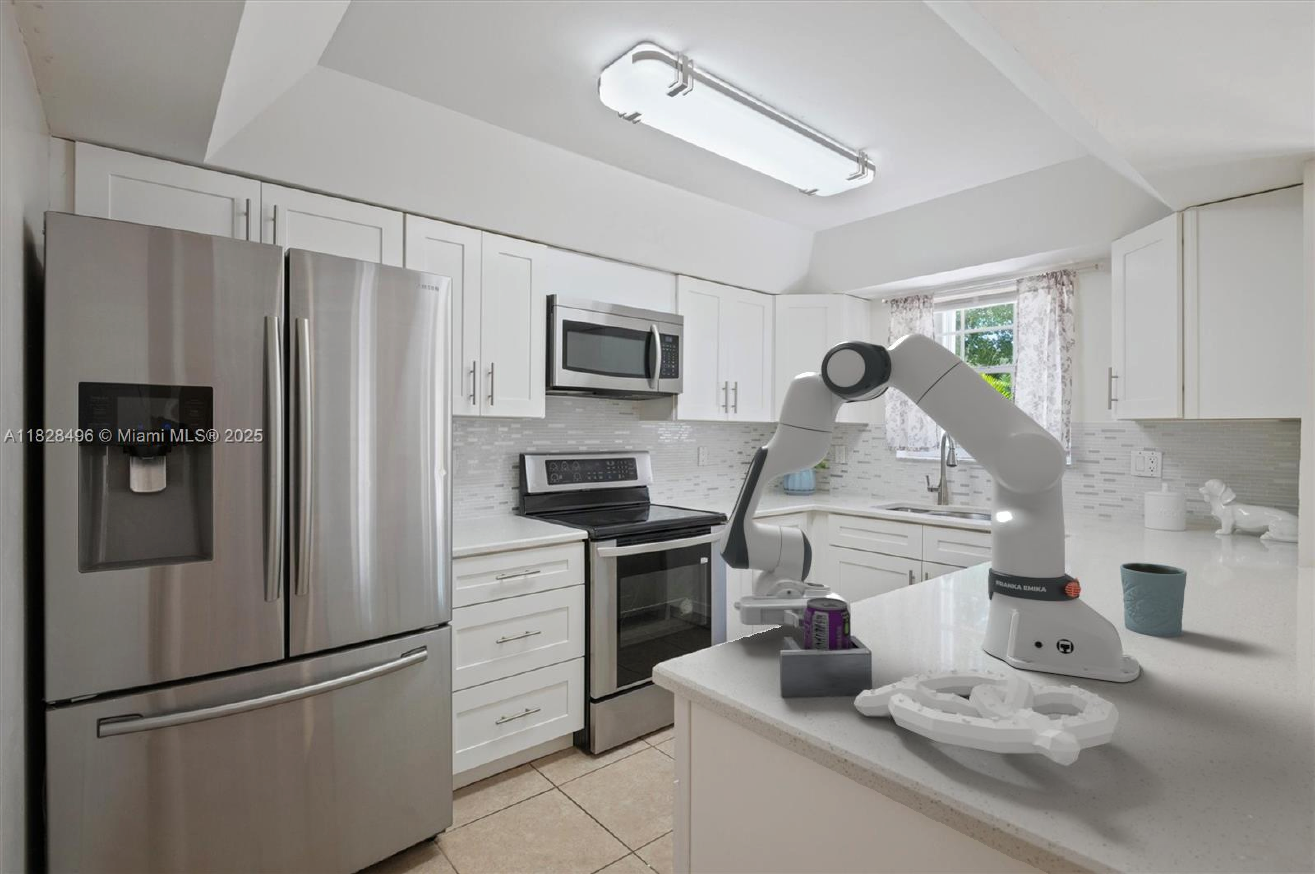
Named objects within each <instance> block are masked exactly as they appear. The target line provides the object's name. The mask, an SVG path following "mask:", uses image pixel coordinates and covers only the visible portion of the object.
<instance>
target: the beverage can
mask: <svg viewBox="0 0 1315 874" xmlns="http://www.w3.org/2000/svg"><path fill="white" fill-rule="evenodd" d="M851 620H852V619H850V613H849V611H848V609H847V603H846V602H845V601H842V600H839V599H834V598H813V599H809V600H807V607H806V609H805V611H804V627H803V650H819V649H851V636H852V633H851V632H852V631H851V625H852V624H851Z"/></svg>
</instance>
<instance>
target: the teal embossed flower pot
mask: <svg viewBox="0 0 1315 874" xmlns="http://www.w3.org/2000/svg"><path fill="white" fill-rule="evenodd" d="M1119 568H1120V569H1119V570H1120V579H1121V586H1122V595H1123V598H1122V600H1123V608H1124V611H1123V612H1124V617H1123V619H1124V626H1125V629H1127V630H1129V631H1132V632H1134V633H1138V634H1142V635H1146V636H1151V637H1152V636H1153V637H1158V638H1177V637H1179V636H1181V635H1182V629H1183V615H1184V614H1183V613H1184V610H1183V609H1184V602H1185V588H1186V584H1187V575H1188V573H1187V570H1185V569H1183V568H1181V567H1176V566H1171V565H1166V564H1158V563H1150V562H1126V563H1122V564H1120V566H1119Z"/></svg>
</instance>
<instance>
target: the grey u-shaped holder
mask: <svg viewBox="0 0 1315 874" xmlns="http://www.w3.org/2000/svg"><path fill="white" fill-rule="evenodd" d="M872 655H873V653H872V651H871V650H870V649H869V647H867V646H866V644H864V643H863V642H862V641H861V640H860V639H858V638H857V636H856V635H851V649H819V650H804V649H801V648H800V646H799V645H798V644H797V642H796V641H795V640H794V639H793V637H792V636H783V650H780V653H779V670H780V671H779V674H780V675H779V676H780V677H779V680H780V681H779V682H780V685H779V687H780V690H779V692H780V693H779V694H780V696H781V698H817V697H818V698H821V697H824V698H825V697H857V696H858V695H859V694H860V693H861V692H862V691H864V690H871V689H873V674H872V673H873V668H872V667H873V664H872V662H873V661H872V659H873V658H872Z"/></svg>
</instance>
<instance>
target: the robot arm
mask: <svg viewBox="0 0 1315 874" xmlns="http://www.w3.org/2000/svg"><path fill="white" fill-rule="evenodd" d="M820 366H821V367H820V372H814V371H811V372H810V371H809V372H808V371H807V372H803V373H800V374H797V375H795V376H794V377H793V379H792V380H791V381H790V383H789V386H788V388H787V391H786V394H785V396H784V400H783V404H782V407H781V410H780V415H779V418H778V423H777V424H778V425H777V427H776V430H775V433H774V434H773V436H772V438H771V439H770V440H769V441H768V442H767V444H765V445H761V446H760V447H759V448H758V449H757V450H756V452H755V453H754V455H753V457H752V459H751V462H750V464H749V467H748V470H747V472H746V474H745V477H744V479H743V482H742V485H741V487H740V491H739V492H738V493H739V494H738V496H737V498H736V501H735V504H734V506H733V509H732V512H731V514H730V517H729V519H728V521H727V523H726V526H725V528H724V529H723V531H722V534H721V536H720V541H719V555H720V556H721V558H722V559H723V561H724V562H725V563H726V564H727V565H728V566H729V567H730V568H732V569H737V570H756V571H755V572H754V574H753V576H752V580H751V589H752V595H747V596H743V597H741V598H739V601H736V602H734V603H733V607H734V609H735V610H736V611H739V620H740V622H741V624H743V625H745V626H766V625H767V626H769V625H774V626H775V625H777V626H780V627H793V626H794V627H795V628H804V611H805V609H806V607H807V600H809V599H813V598H834V599H839V600H842V601H845V602H846V603H847V609H848V611H849V613H850V620H852V619H851V618H852V617H851V615H852V614H851V612H852V611H851V609H852V608H851V604H850V602H849V601H848V600H847V598H845V597H844V596H842V595H840V594H839V593H837V592H835V591H832V590H831V587H830V586H829V585H827V584H823V583H812V582H806V579H807V578H808V576H809V575H810V570H811V566H812V559H813V549H812V545H811V543H810V541H809V538H808V537H807V535H806V534H805V532H804V531H803V530H801V529H800V528H795V527H789V526H784V525H775V524H774V525H773V524H769V523H768V524H766V523H760V522H756V521H753V519H754V517H755V515H756V511H757V508H758V505H759V504H760V501H761V497H762V495H763V493H764V490H765V488H766V487H767V486H768V484H769V483H770V482H772V481H773V480H775V479H777V478H780V477H782V476H783V477H784V476H785V475H790V474H795V473H799V472H801V473H802V472H805V471H808V470H811V469H812V468H814V467H816V466H818V465H819V464H821V462H823V460H824V459H826V457H827V456H828V454H829V451H830V448H831V445H832V440H833V435H834V430H835V424H836V419H837V415H838V413H839V410H840V409H841V407H842V406H843V405H844V404H850V403H858V402H866V401H872V400H875V399H878V398H879V397H881V396H883V395H884V394H885V393H886V392H887V391H888V390H889V388H894V389H896V390H898V391H899V392H901V393H902V394H903V395H905V397H907V398H908V399H910V400H911V401H912V402H913V403H914V404H915V405H916V406H917V407H918V408H919V409H920V410H921V411H922V412H923V413H925V414H926V415H927V416H928V417H929V418H930V419H931V420H932V421H933V422H935V424H937V425H938V426H939V427H940V428H941V429H942V430H943V431H944V432H945V433H947V434H948V436H950V437H951V438H952V440H953V441H955V443H957V444H958V445H959V446H960V447H961V448H962V449H963V450H964V451H965V452H966V453H967V454H968V455H970V457H972V458H973V460H974V461H976V463H977V464H979V466H981V467H982V468H983V469H984V470H985V471H986V472H987V473H988V474H989V475H990V492H991V493H990V541H991V542H990V551H991V552H990V553H991V554H990V558H991V566H990V568H989V569H988V574H987V595H988V599H989V600H990V601H989V603H990V604H989V613H988V618H987V625H986V630H985V633H984V637H983V639H982V640H983V641H982V643H981V648H982V649H983V650H984V651H985V652H986V653H987V654H990V655H991V656H994V657H996V658H998V659H1001V660H1003V661H1005V662H1006V663H1007V664H1009V665H1010V666H1012V667H1014V668H1017V669H1022V670H1029V671H1037V672H1044V673H1051V674H1052V673H1053V674H1058V675H1067V676H1073V677H1080V678H1081V677H1082V678H1087V679H1095V680H1103V681H1110V682H1117V683H1126V682H1131V681H1133V680H1136V679H1137V678H1138V677H1139V675H1140V671H1141V670H1140V662H1139V661H1138V659H1137V658H1136V657H1135V656H1133V655H1132V654H1130V653H1128V652H1126V651H1123V645H1122V640H1121V637H1120V633H1119V632H1118V630H1117V628H1116V626H1115V625H1114V624H1113V623H1112V622H1111V621H1110V620H1109V619H1108V618H1106V617H1105V616H1104V615H1102V614H1101V613H1099V612H1098V611H1097V610H1096V609H1094V608H1093V607H1091V606H1090V605H1089V604H1087V602H1085V601H1083V600H1082V599H1081V598H1080V596H1081V595H1080V594H1081V591H1082V587H1081V586H1080V584H1081V583H1080V581H1079V579H1078V578H1077V577H1075V578H1074V577H1073V576H1071V575H1070V574H1068V573H1066V568H1065V567H1066V565H1065V564H1066V551H1065V550H1066V544H1065V543H1066V541H1065V540H1066V537H1065V535H1066V534H1065V533H1066V532H1065V530H1066V529H1065V528H1066V527H1065V518H1064V500H1063V484H1062V483H1063V482H1062V481H1063V477H1064V475H1065V472H1066V469H1067V460H1068V459H1067V454H1066V450H1065V449H1064V446H1063V445H1062V443H1061V442H1060V441H1059V440H1058V439H1057V437H1055V436H1053V435H1052V434H1051V433H1050V432H1049V431H1048V430H1046V429H1045V428H1044V427H1043V426H1041V424H1039V423H1038V422H1037V421H1036V420H1034V419H1033V418H1032V417H1031V416H1030V415H1028V413H1026V412H1025V411H1024V410H1022V408H1020V407H1019V406H1017V405H1016V404H1015V403H1014V402H1012V401H1011V399H1009V398H1007V396H1005V395H1004V394H1003V393H1002V392H1001V391H999V390H998V389H996V387H994V386H993V385H992V384H991V383H989V382H988V381H987V380H986V379H985V378H983V376H981V375H980V374H979V373H978V372H976V371H975V370H974V369H973V368H972V367H971V366H970V365H968V364H967V363H966V362H965V361H963V360H962V358H960V357H959V356H958V355H956V354H955V353H954V352H952V351H951V350H949V349H948V348H947V347H945V346H944V345H942V344H941V343H939V342H938V341H936V340H934V339H932V338H930V336H929V337H928V336H927V335H925V334H923V333H920V332H919V333H918V332H911V333H908V334H906V335H903V336H902V337H900V338H899V339H897V340H896V341H895V342H893V344H892V345H890V346H889V347H887V348H885V347H884V346H883V345H879V344H875V343H870V342H865V341H861V340H846V341H843V342H840V343H837V344H835V345H834V346H833V347H831V348H830V349H829V350H828V351H827V352H826V353H825V354H824V357H823V359H822V362H821V365H820Z"/></svg>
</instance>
